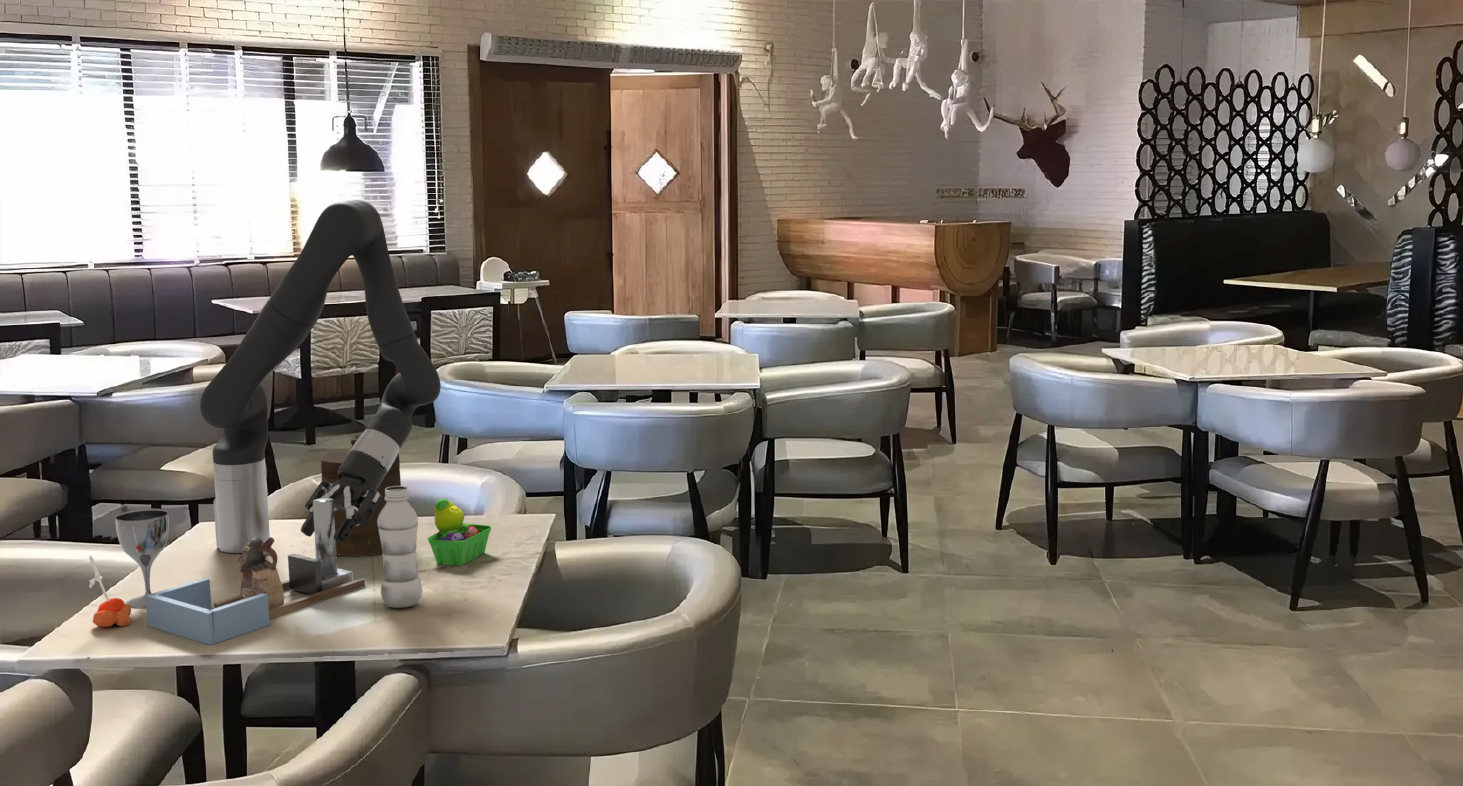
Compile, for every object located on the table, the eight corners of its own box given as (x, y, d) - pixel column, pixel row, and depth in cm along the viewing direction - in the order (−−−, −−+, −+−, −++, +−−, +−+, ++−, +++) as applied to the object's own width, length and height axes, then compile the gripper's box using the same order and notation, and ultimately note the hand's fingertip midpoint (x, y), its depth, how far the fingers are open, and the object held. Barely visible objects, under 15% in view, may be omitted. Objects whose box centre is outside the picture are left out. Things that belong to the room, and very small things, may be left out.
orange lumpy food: (71, 635, 192) (65, 561, 190) (112, 615, 201) (106, 544, 200) (106, 638, 191) (100, 563, 189) (145, 617, 200) (140, 545, 198)
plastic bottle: (412, 613, 202) (406, 494, 198) (374, 611, 203) (368, 492, 200) (429, 601, 208) (424, 485, 205) (392, 598, 209) (386, 483, 206)
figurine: (249, 600, 208) (244, 531, 206) (291, 601, 208) (287, 531, 206) (231, 615, 201) (226, 543, 199) (274, 615, 201) (269, 544, 199)
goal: (147, 625, 196) (145, 595, 195) (207, 607, 205) (205, 578, 204) (210, 645, 188) (207, 613, 187) (269, 624, 197) (267, 594, 196)
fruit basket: (463, 568, 226) (460, 508, 224) (420, 564, 229) (418, 504, 227) (494, 551, 236) (492, 494, 235) (453, 547, 239) (451, 490, 237)
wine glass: (140, 612, 203) (133, 523, 200) (112, 603, 207) (105, 516, 204) (184, 598, 209) (178, 512, 207) (156, 590, 213) (149, 506, 211)
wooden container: (361, 532, 250) (355, 425, 247) (420, 540, 244) (415, 431, 240) (308, 551, 237) (301, 438, 233) (368, 561, 231) (363, 445, 227)
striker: (289, 589, 213) (284, 504, 211) (328, 576, 220) (323, 494, 218) (316, 596, 210) (311, 509, 207) (355, 583, 216) (350, 499, 214)
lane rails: (214, 610, 203) (213, 603, 203) (323, 575, 222) (322, 569, 221) (257, 622, 198) (256, 615, 197) (365, 586, 216) (364, 579, 216)
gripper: (329, 444, 222) (280, 520, 215) (385, 452, 215) (336, 532, 207) (354, 467, 228) (307, 543, 220) (409, 476, 220) (362, 554, 212)
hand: (321, 537), depth 214 cm, fingers open, 8 cm apart
